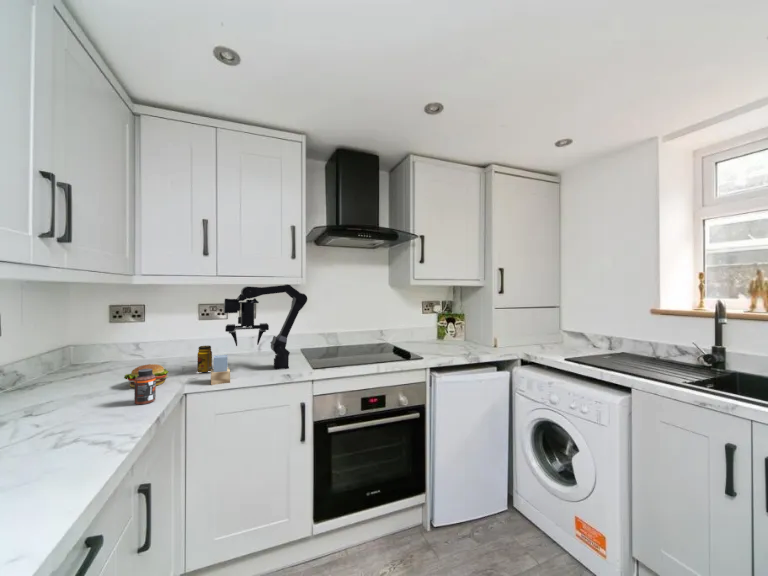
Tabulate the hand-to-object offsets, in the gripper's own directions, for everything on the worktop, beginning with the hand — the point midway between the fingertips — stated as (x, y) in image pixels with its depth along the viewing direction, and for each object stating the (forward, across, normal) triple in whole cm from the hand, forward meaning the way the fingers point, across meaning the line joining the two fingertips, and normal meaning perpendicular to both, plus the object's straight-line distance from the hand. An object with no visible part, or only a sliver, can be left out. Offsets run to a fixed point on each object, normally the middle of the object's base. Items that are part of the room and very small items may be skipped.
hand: (247, 345), depth 152 cm
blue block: (+8, +10, +13) cm, 18 cm away
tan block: (+13, +10, +13) cm, 21 cm away
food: (+13, +38, +6) cm, 41 cm away
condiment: (+13, +18, -8) cm, 23 cm away
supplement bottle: (+13, +33, +30) cm, 46 cm away
